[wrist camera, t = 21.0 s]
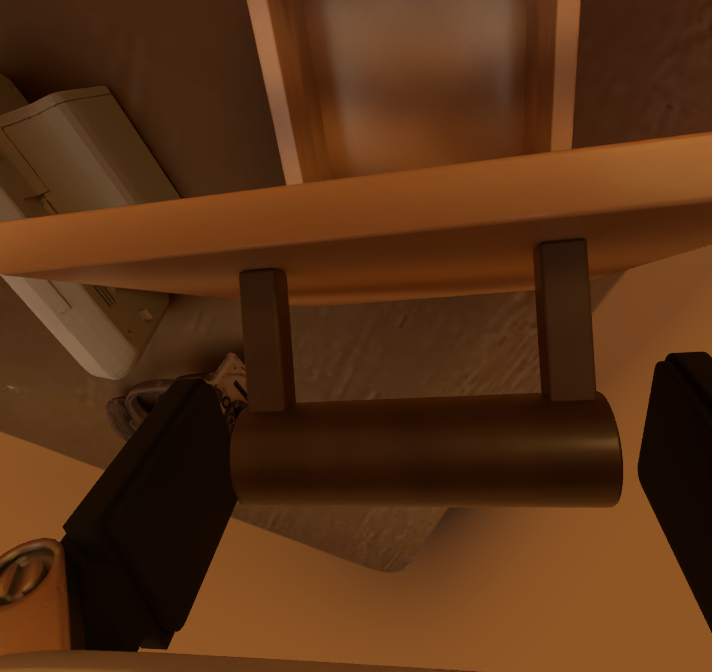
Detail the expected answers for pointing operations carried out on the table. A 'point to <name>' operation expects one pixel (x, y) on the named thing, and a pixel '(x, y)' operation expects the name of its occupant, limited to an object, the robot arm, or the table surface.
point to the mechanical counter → (131, 414)
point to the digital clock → (75, 194)
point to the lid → (405, 282)
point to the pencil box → (415, 81)
